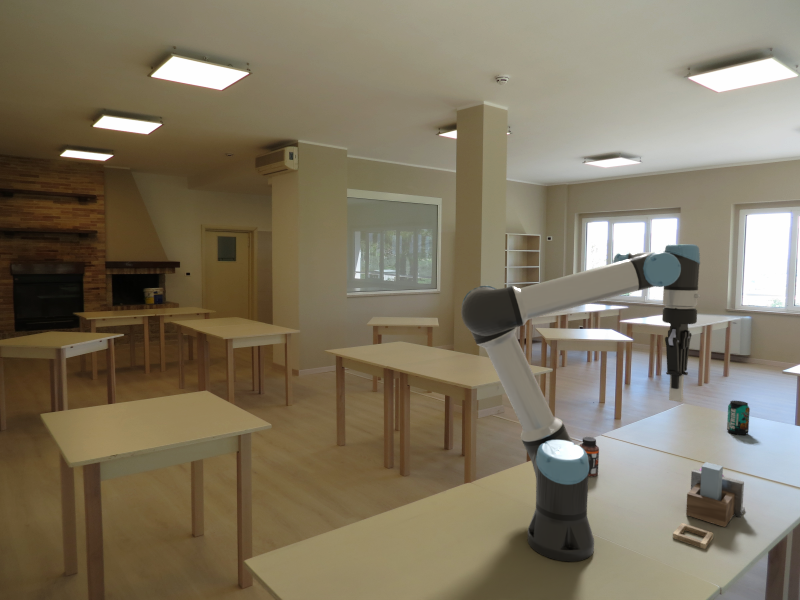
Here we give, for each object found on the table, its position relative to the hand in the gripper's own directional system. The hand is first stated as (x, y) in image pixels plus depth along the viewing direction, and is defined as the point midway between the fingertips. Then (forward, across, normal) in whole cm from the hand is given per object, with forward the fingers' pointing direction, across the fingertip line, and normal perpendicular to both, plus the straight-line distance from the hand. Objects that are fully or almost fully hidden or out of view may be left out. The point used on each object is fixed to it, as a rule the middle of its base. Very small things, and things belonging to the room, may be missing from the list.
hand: (675, 400), depth 131 cm
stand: (+32, -3, -6) cm, 33 cm away
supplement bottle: (+33, +16, +29) cm, 46 cm away
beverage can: (+33, +94, +4) cm, 100 cm away
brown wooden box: (+32, +12, -6) cm, 35 cm away
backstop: (+32, +19, -6) cm, 38 cm away
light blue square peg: (+31, +12, -6) cm, 34 cm away
